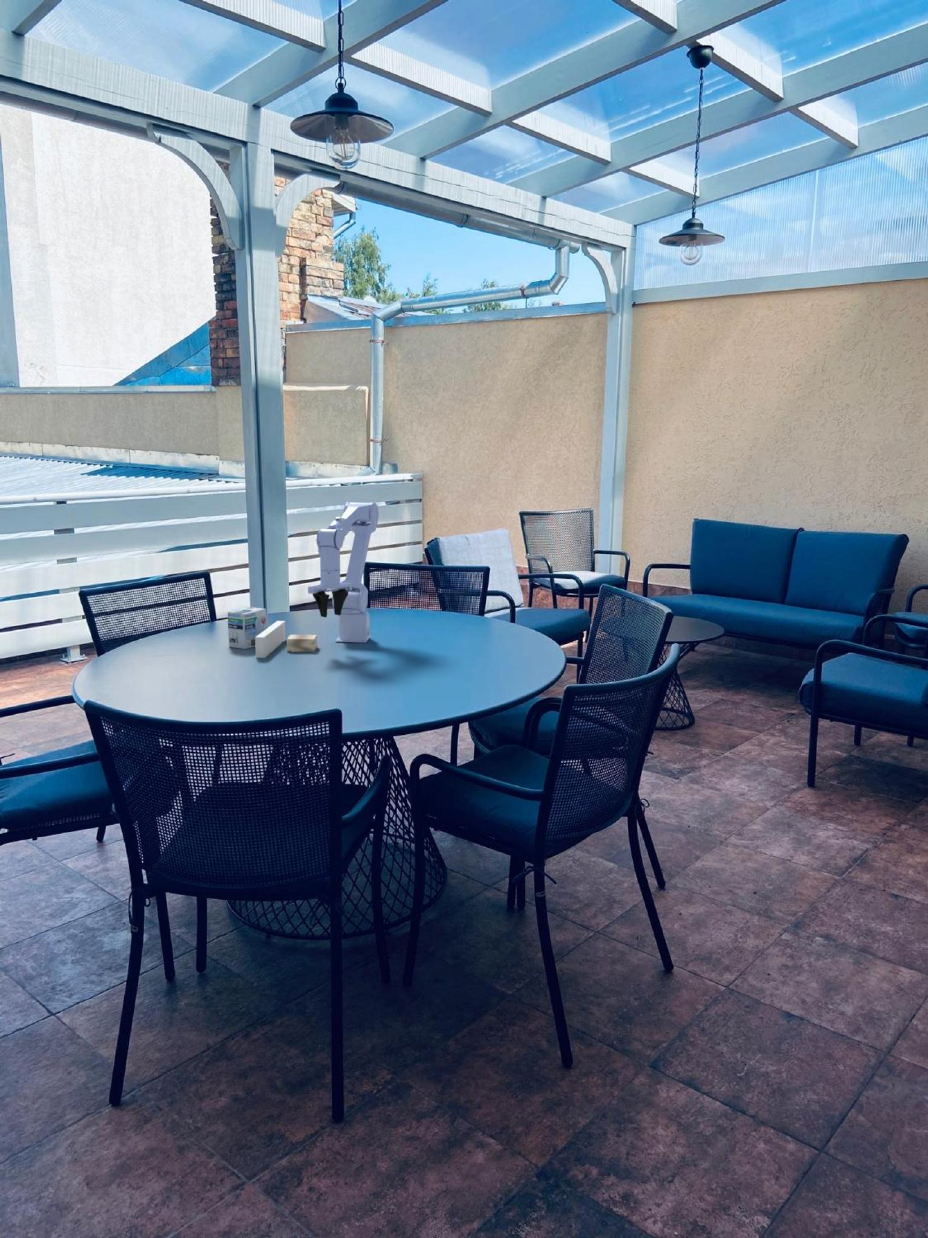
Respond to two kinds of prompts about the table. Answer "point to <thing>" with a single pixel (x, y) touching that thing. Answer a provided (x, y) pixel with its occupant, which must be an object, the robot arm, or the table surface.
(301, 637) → the maple block
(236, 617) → the light bulb box
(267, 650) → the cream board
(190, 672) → the table surface
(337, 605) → the robot arm
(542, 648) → the table surface
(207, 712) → the table surface
